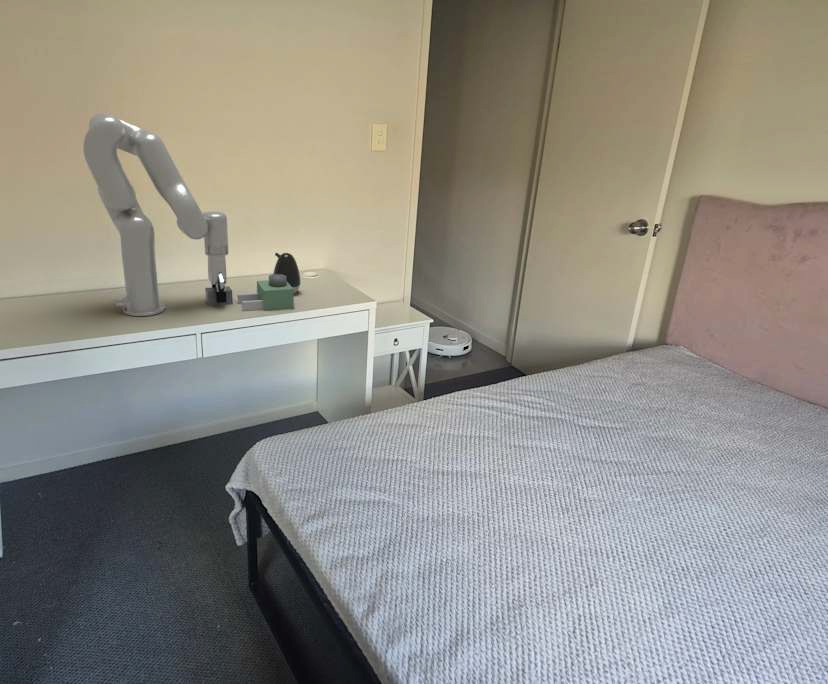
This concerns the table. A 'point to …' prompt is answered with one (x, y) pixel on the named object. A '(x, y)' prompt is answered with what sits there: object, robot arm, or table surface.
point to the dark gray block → (212, 296)
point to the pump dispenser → (288, 269)
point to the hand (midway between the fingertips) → (219, 298)
